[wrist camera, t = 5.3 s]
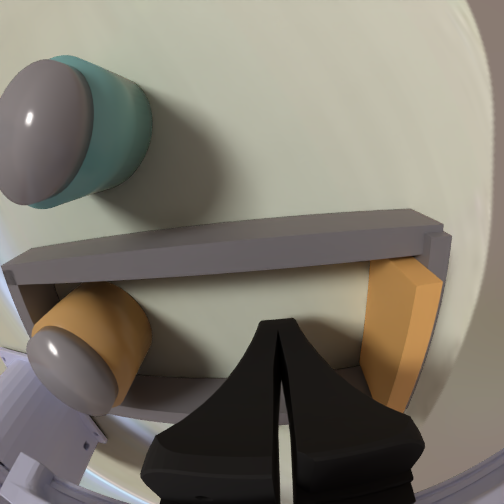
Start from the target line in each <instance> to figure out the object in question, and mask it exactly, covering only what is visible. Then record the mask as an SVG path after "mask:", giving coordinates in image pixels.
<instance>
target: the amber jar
mask: <svg viewBox="0 0 504 504" xmlns="http://www.w3.org/2000/svg"><path fill="white" fill-rule="evenodd" d="M151 343H152V330H151V326H150V323H149V320H148V318H147V316H146V314H145V313H144V311H143V310H142V308H141V307H140V305H139V304H138V303H137V302H136V301H135V300H134V299H133V298H132V297H131V296H130V295H129V294H128V293H127V292H125V291H124V290H123V289H121V288H119V287H118V286H116V285H114V284H112V283H109V282H106V281H96V282H83V283H81V284H79V285H78V286H77V287H76V288H75V289H74V290H72V291H71V292H70V293H69V294H68V295H67V296H66V297H64V298H63V299H62V300H61V301H60V302H59V303H58V304H56V305H55V306H54V307H53V308H52V309H51V310H50V311H49V312H48V313H47V314H45V315H44V316H43V317H42V318H41V319H40V320H39V321H38V322H37V323H36V324H35V325H34V327H33V329H32V335H31V339H30V340H29V341H28V343H27V348H26V351H27V357H28V360H29V363H30V365H31V367H32V369H33V371H34V373H35V374H36V376H37V377H38V379H39V380H40V381H41V382H42V384H43V385H44V386H45V387H46V388H47V389H48V390H49V391H50V392H51V393H52V394H53V395H54V396H55V397H56V398H58V399H59V400H60V401H62V402H63V403H64V404H66V405H67V406H69V407H71V408H73V409H75V410H77V411H79V412H81V413H84V414H87V415H91V416H103V415H106V414H108V413H109V412H110V410H111V408H113V407H117V406H118V405H120V404H121V403H122V402H123V400H124V398H125V396H126V394H127V392H128V390H129V388H130V386H131V384H132V382H133V380H134V378H135V376H136V374H137V372H138V370H139V368H140V366H141V364H142V363H143V361H144V359H145V357H146V355H147V353H148V351H149V349H150V347H151Z"/></svg>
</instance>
